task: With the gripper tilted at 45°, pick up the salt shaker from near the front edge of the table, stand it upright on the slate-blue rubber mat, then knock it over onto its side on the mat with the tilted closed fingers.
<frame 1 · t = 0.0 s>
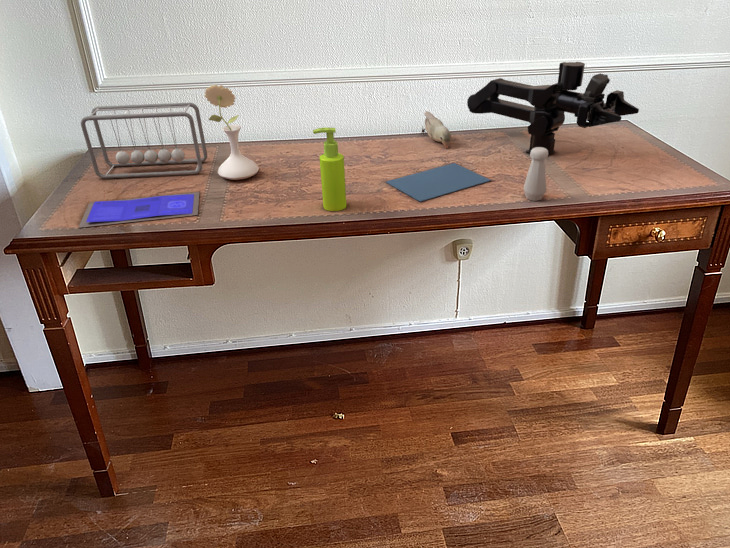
hand: (629, 114, 158), 17 cm above the table, tool horizontal, fingers open, 9 cm apart
decorative bird: (436, 141, 194), on the table
slate mat: (438, 181, 166), on the table
salt shaker: (533, 198, 156), on the table
booklet: (142, 209, 154), on the table
newton's cradle: (154, 171, 177), on the table
flower in vase: (237, 176, 172), on the table
soap dispenser: (332, 207, 153), on the table
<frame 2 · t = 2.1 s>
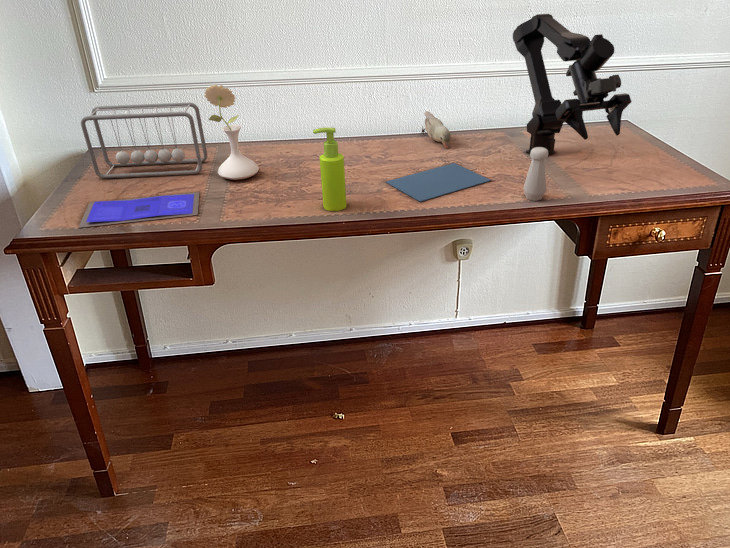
hand: (602, 136, 153), 14 cm above the table, tool tilted 45°, fingers open, 9 cm apart
nothing on the table moved.
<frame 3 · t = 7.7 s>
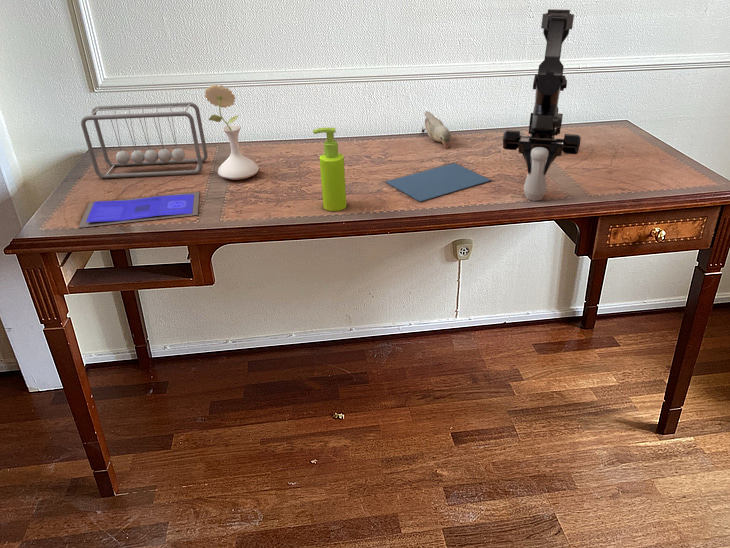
hand: (536, 173, 151), 7 cm above the table, tool tilted 45°, fingers closed on salt shaker, 3 cm apart
salt shaker: (533, 198, 156), on the table, touching gripper
everything else where it was.
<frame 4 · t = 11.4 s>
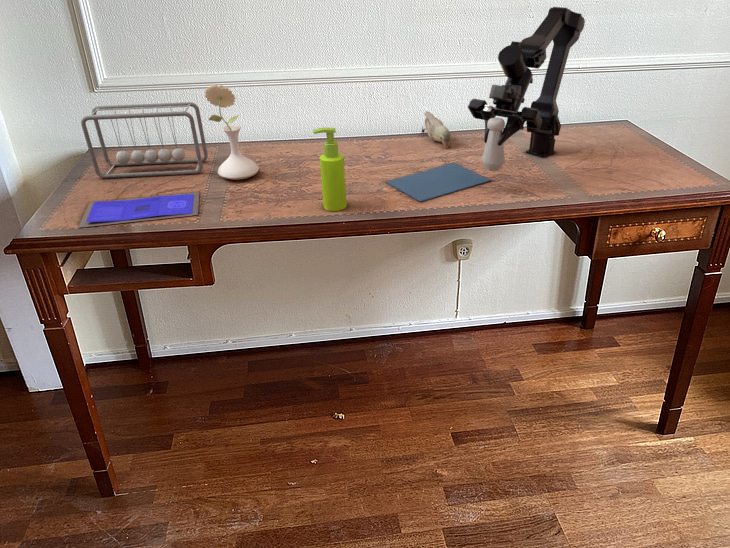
hand: (491, 143, 153), 13 cm above the table, tool tilted 45°, fingers closed on salt shaker, 3 cm apart
salt shaker: (492, 169, 158), point 6 cm above the table, touching gripper
everything else where it was.
when the fingers open (7 cm above the table, at t = 15.4 s): salt shaker stays where it is, resting on slate mat.
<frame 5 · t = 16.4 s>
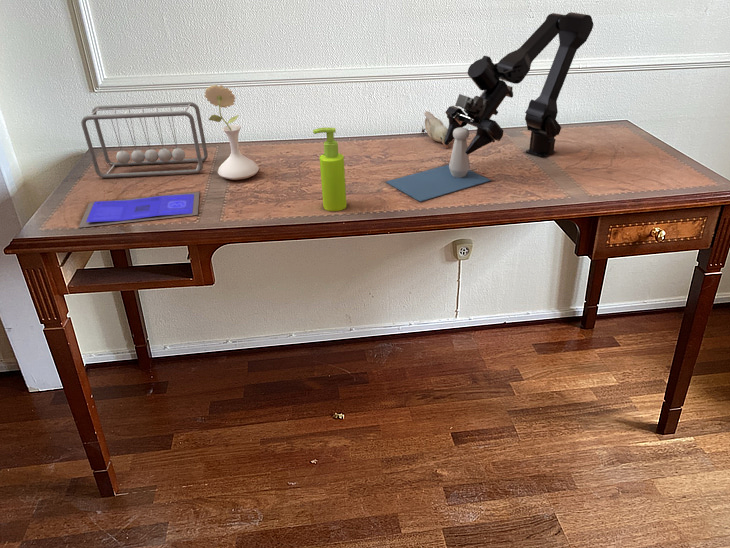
hand: (455, 148, 164), 8 cm above the table, tool tilted 45°, fingers open, 9 cm apart
salt shaker: (458, 175, 169), resting on slate mat
everything else where it was.
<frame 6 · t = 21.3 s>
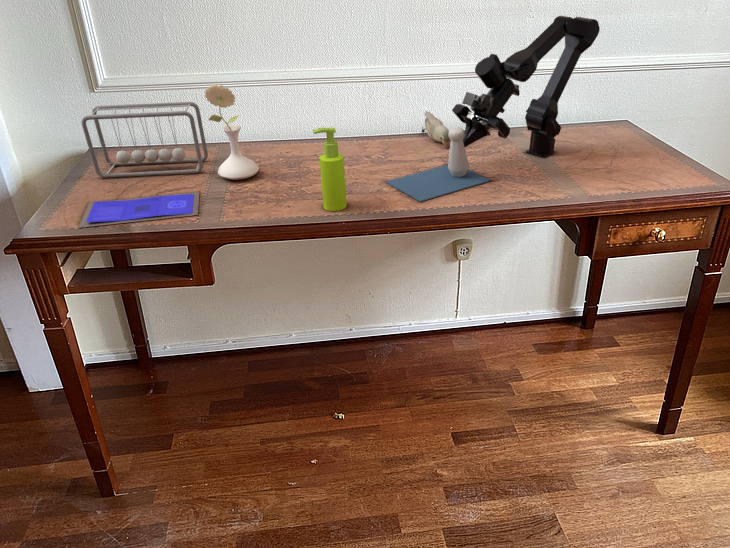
hand: (462, 146, 164), 8 cm above the table, tool tilted 45°, fingers closed
salt shaker: (459, 174, 169), resting on slate mat, touching gripper
everything else where it was.
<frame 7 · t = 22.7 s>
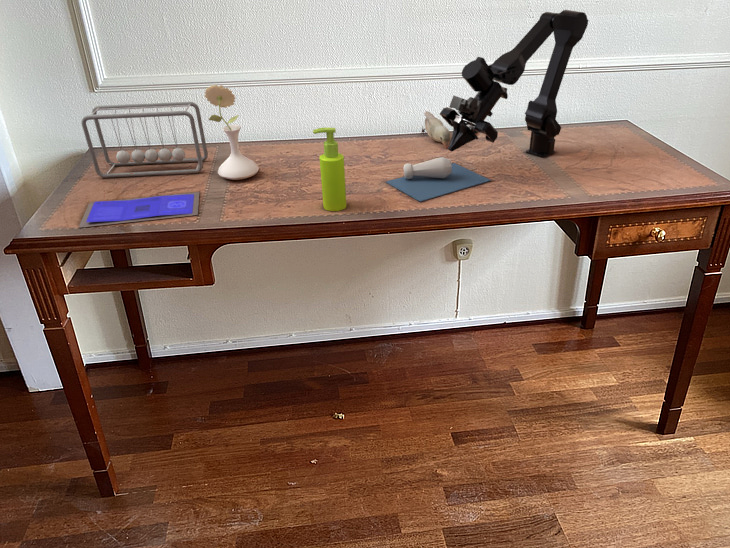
hand: (449, 150, 163), 8 cm above the table, tool tilted 45°, fingers closed
salt shaker: (451, 166, 165), point 3 cm above the table, touching slate mat
everything else where it was.
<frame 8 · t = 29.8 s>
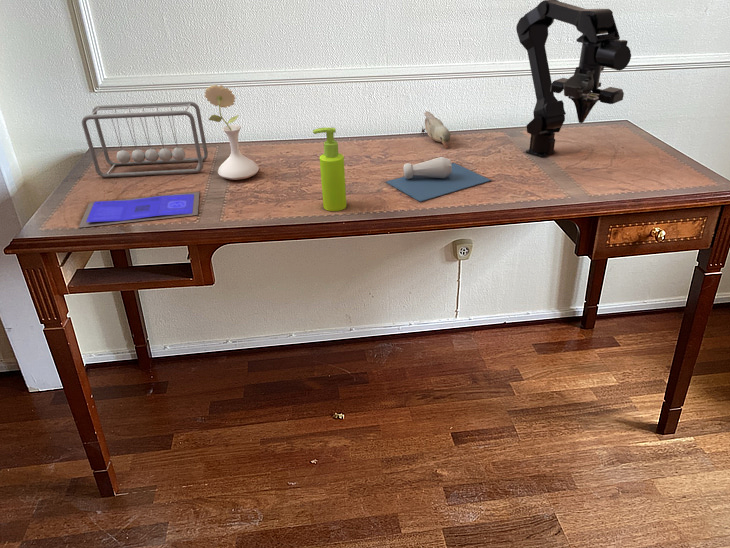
hand: (581, 122, 165), 13 cm above the table, tool pointing down, fingers closed
nothing on the table moved.
at the end: salt shaker tilted 95°; salt shaker touching slate mat; salt shaker inside the target area (4.4 cm from its centre), point 3.4 cm above the table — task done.
